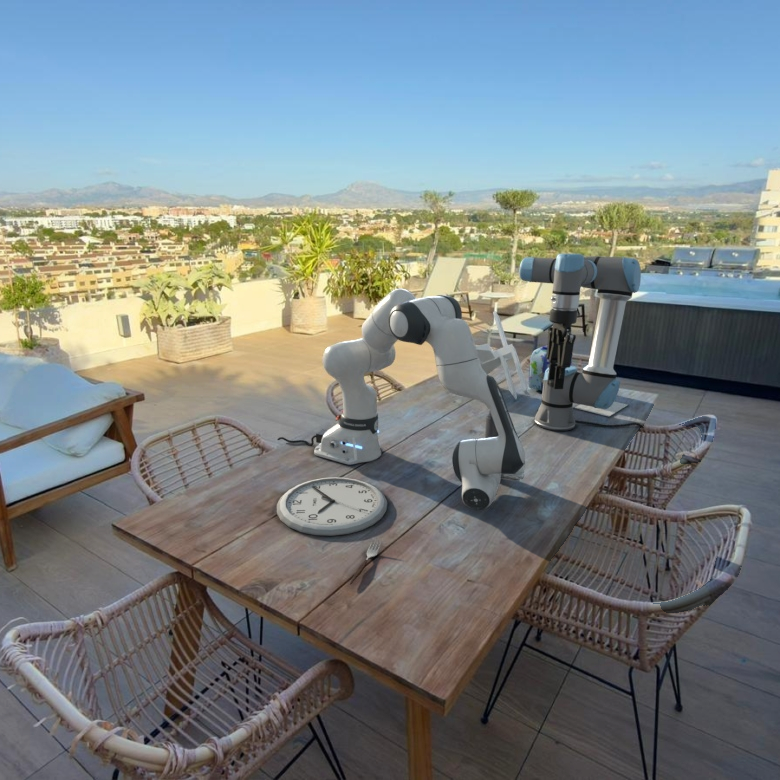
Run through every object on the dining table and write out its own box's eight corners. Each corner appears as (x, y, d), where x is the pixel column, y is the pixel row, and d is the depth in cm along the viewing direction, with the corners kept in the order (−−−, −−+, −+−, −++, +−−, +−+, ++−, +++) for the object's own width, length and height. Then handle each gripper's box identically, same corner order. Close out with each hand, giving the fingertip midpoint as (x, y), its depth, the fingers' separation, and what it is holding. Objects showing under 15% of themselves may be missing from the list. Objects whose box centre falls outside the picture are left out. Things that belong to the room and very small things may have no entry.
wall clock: (392, 527, 129) (268, 531, 127) (391, 533, 130) (269, 537, 127) (383, 473, 158) (282, 475, 155) (383, 478, 158) (282, 480, 156)
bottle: (479, 471, 164) (485, 396, 157) (497, 470, 165) (503, 395, 157) (485, 479, 159) (491, 402, 151) (503, 478, 160) (509, 401, 152)
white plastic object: (461, 429, 252) (437, 405, 227) (444, 352, 274) (420, 323, 250) (535, 404, 240) (518, 377, 215) (510, 326, 262) (492, 293, 237)
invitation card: (608, 416, 214) (573, 407, 224) (608, 416, 214) (573, 408, 224) (628, 404, 229) (594, 396, 238) (628, 405, 229) (594, 397, 238)
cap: (551, 388, 155) (552, 382, 155) (546, 384, 159) (546, 379, 159) (563, 387, 156) (564, 382, 155) (558, 384, 160) (558, 379, 159)
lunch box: (544, 395, 239) (549, 351, 233) (524, 390, 247) (528, 347, 240) (571, 384, 257) (577, 343, 251) (552, 380, 264) (556, 339, 258)
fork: (344, 585, 111) (344, 577, 110) (372, 544, 125) (372, 537, 125) (355, 588, 110) (355, 580, 109) (382, 546, 124) (382, 539, 124)
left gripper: (524, 469, 144) (528, 450, 157) (451, 458, 150) (461, 440, 163) (522, 490, 146) (526, 469, 159) (450, 478, 152) (460, 459, 165)
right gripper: (540, 304, 158) (532, 379, 165) (564, 313, 142) (555, 395, 149) (563, 304, 159) (554, 378, 166) (590, 313, 143) (579, 394, 150)
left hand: (493, 455), depth 161 cm, fingers closed on bottle, 5 cm apart
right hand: (554, 386), depth 158 cm, fingers closed on cap, 4 cm apart
